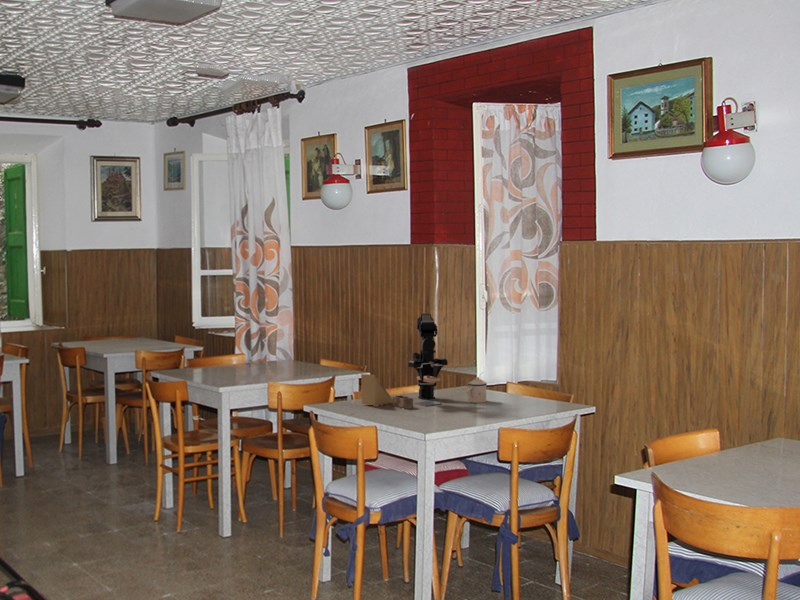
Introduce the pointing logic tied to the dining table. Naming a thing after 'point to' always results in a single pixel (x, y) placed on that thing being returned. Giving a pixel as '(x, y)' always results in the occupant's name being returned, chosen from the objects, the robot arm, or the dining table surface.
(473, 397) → the white printed mug
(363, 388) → the sandwich container
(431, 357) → the robot arm
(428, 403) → the coaster
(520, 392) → the dining table surface
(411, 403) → the tea box
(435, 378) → the lid
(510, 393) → the dining table surface
